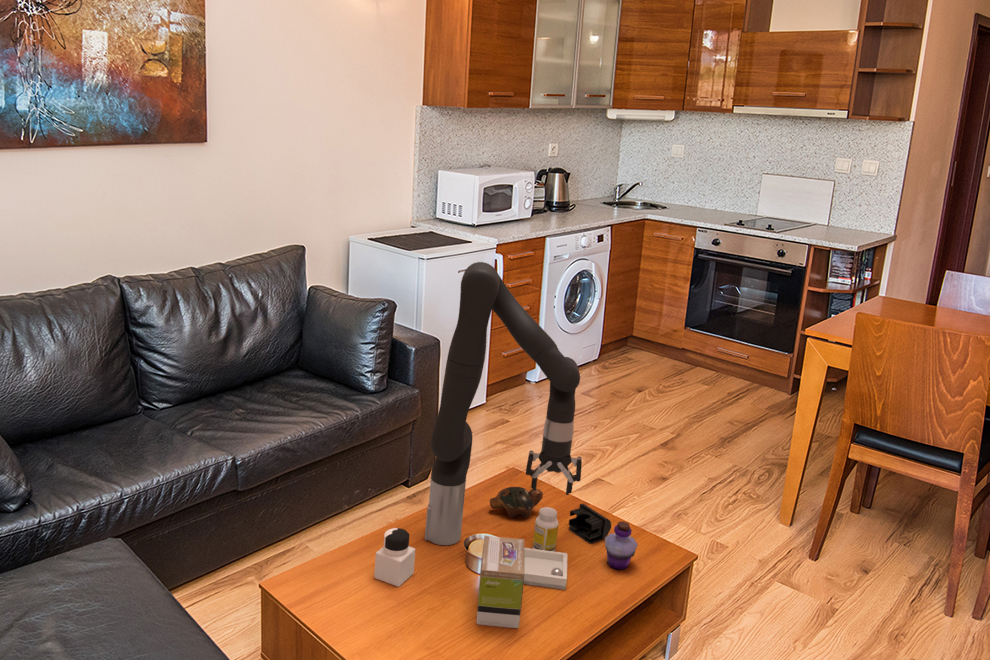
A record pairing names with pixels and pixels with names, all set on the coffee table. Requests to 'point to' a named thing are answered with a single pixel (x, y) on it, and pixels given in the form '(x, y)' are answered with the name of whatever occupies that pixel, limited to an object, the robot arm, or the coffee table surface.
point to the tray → (544, 568)
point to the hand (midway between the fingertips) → (551, 491)
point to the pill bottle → (546, 530)
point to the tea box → (501, 582)
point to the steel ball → (557, 572)
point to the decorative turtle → (516, 501)
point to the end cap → (589, 524)
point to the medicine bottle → (395, 558)
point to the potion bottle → (620, 546)
